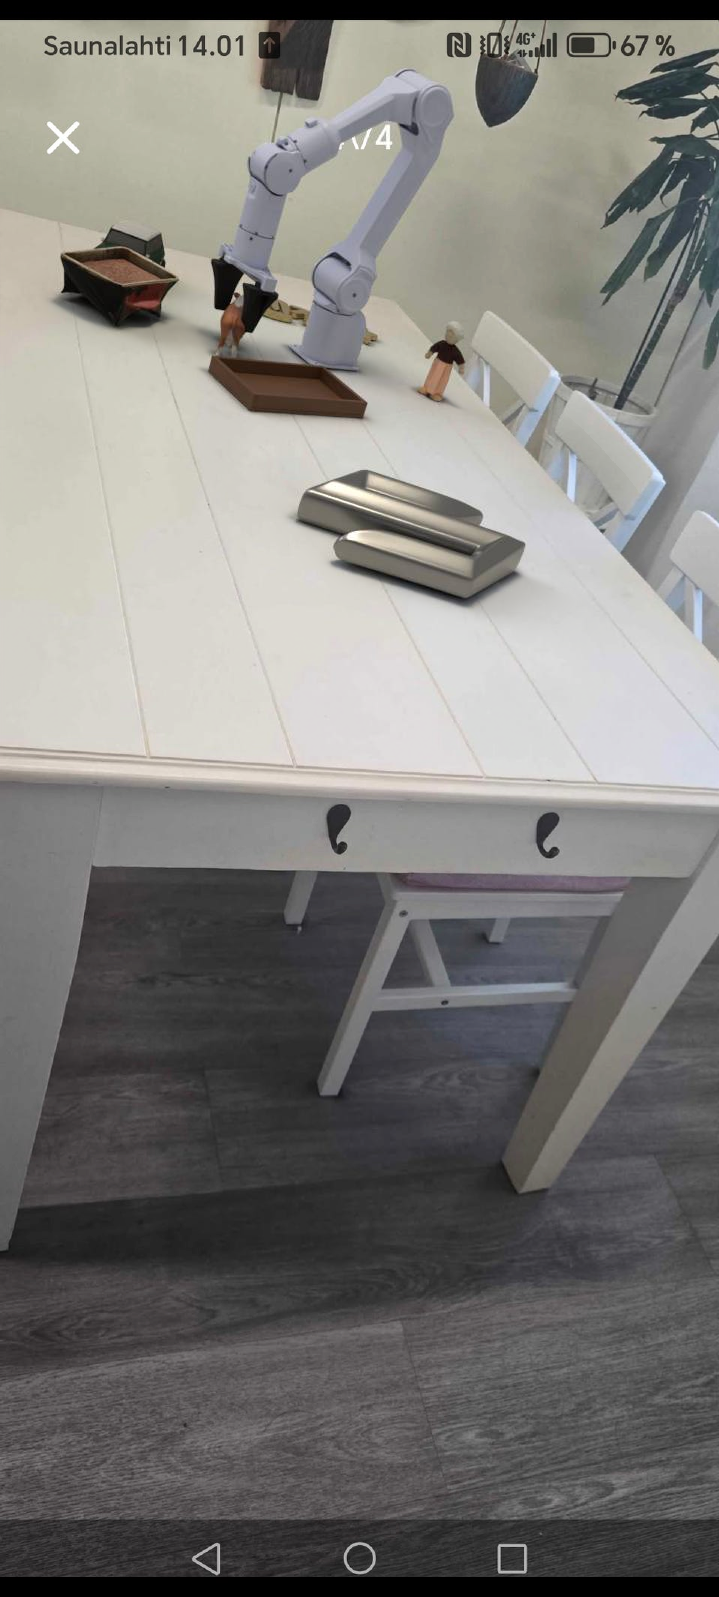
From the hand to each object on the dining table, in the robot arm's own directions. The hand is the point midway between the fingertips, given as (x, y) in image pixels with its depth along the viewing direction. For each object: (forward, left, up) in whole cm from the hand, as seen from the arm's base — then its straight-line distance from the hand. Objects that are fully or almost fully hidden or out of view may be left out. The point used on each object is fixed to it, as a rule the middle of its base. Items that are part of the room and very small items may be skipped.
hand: (233, 320), depth 192 cm
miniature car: (+4, -29, -5) cm, 30 cm away
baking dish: (+15, -12, -5) cm, 19 cm away
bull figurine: (-1, 0, -5) cm, 5 cm away
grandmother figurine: (-34, +13, -5) cm, 36 cm away
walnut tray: (-2, +17, -5) cm, 18 cm away
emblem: (+6, +62, -5) cm, 62 cm away
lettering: (-27, -17, -5) cm, 32 cm away
